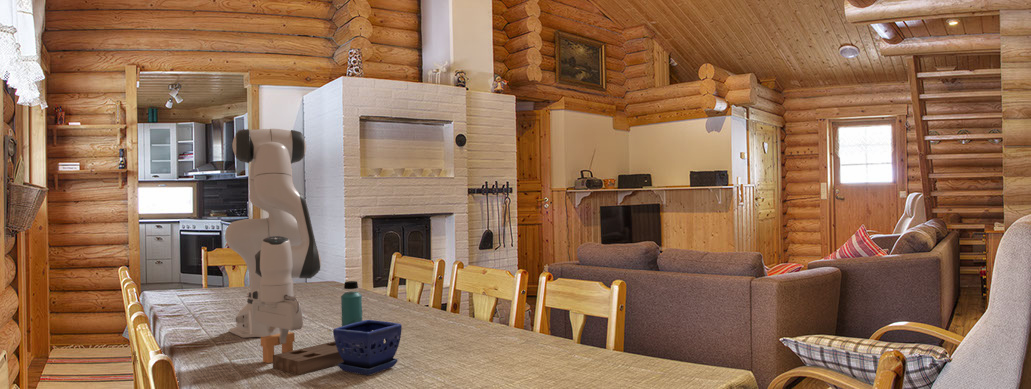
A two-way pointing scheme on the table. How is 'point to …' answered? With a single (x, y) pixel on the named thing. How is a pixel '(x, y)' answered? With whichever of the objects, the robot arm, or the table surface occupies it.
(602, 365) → the table surface
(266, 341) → the tan two-pronged block
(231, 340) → the table surface
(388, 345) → the flower pot
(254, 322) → the robot arm
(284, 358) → the block with square holes
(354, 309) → the beverage bottle
